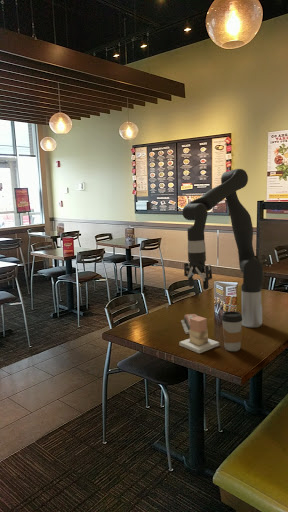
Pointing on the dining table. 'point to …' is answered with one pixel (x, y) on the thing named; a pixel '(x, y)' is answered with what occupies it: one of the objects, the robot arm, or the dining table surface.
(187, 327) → the packaged product
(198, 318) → the terracotta block
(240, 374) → the dining table surface
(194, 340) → the maple block
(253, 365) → the dining table surface
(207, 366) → the dining table surface
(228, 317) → the coffee cup
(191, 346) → the plate
